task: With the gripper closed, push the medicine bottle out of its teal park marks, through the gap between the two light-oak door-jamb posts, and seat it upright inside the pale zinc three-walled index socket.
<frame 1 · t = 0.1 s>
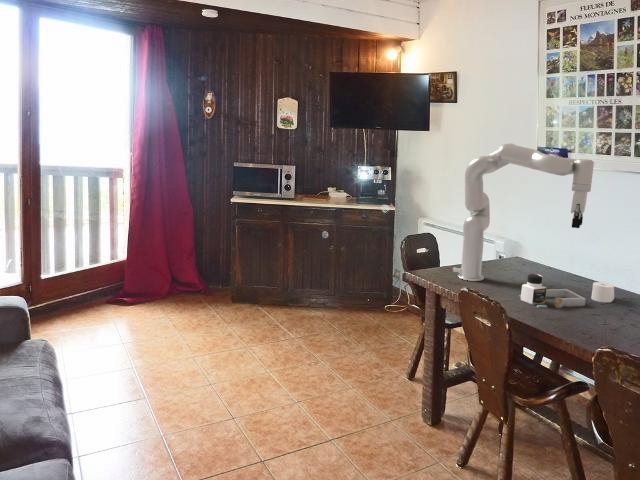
hand: (576, 226, 247), 31 cm above the table, fingers open, 9 cm apart
index socket: (562, 301, 241), on the table
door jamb: (547, 301, 240), on the table
toilet paper: (605, 300, 246), on the table
park marks: (532, 301, 239), on the table
medicine bottle: (532, 302, 239), on the table
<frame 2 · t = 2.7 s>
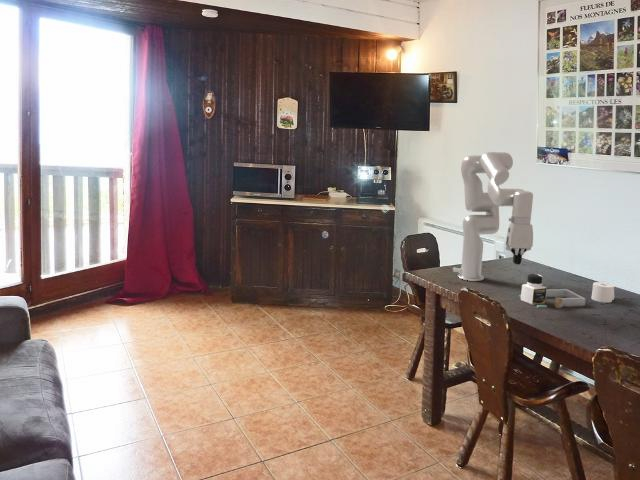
hand: (516, 263, 235), 17 cm above the table, fingers closed
nothing on the table moved.
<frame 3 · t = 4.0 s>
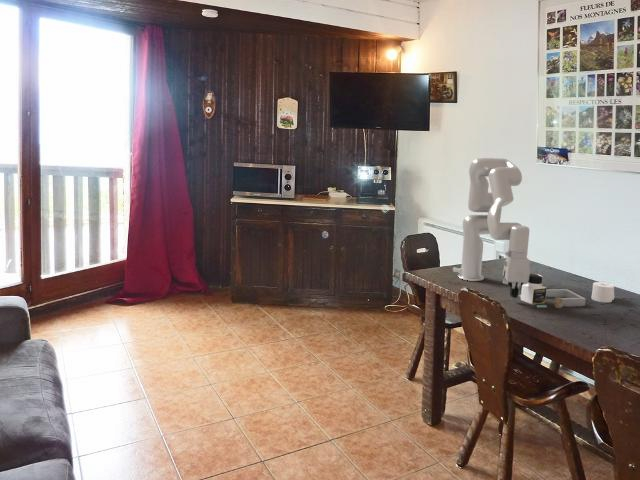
hand: (513, 296, 237), 2 cm above the table, fingers closed
nothing on the table moved.
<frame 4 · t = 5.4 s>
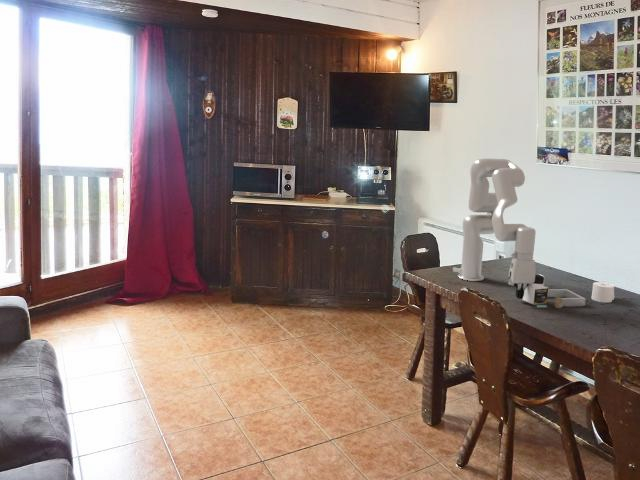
hand: (519, 297, 238), 2 cm above the table, fingers closed
medicine bottle: (534, 302, 239), on the table, touching gripper
everything else where it was.
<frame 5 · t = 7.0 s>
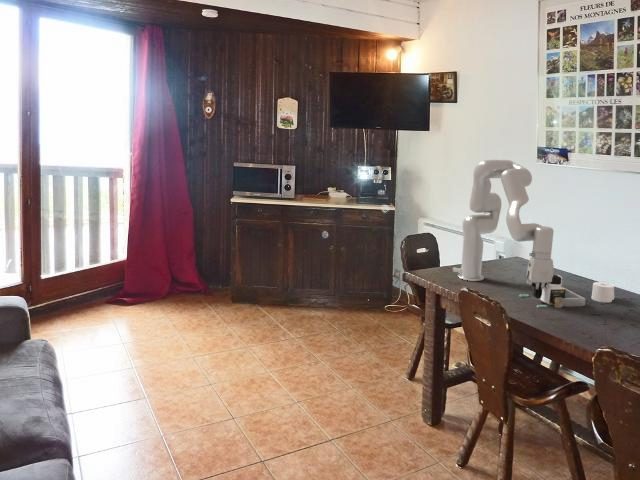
hand: (537, 297, 239), 2 cm above the table, fingers closed
medicine bottle: (551, 302, 239), on the table, touching gripper
everything else where it was.
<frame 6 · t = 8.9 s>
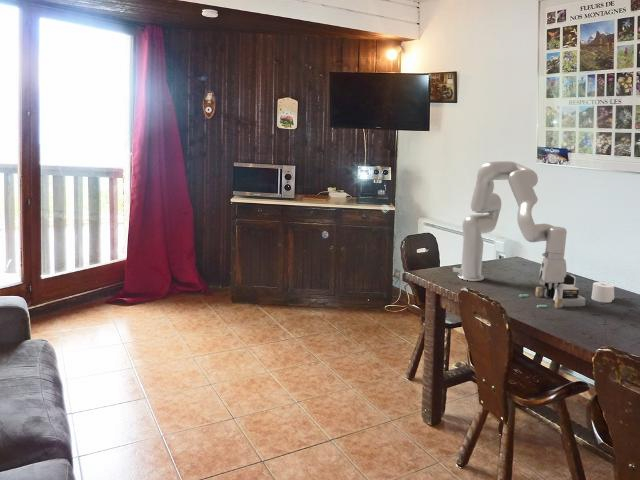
hand: (550, 297, 240), 2 cm above the table, fingers closed
medicine bottle: (564, 302, 240), on the table, touching gripper
everything else where it was.
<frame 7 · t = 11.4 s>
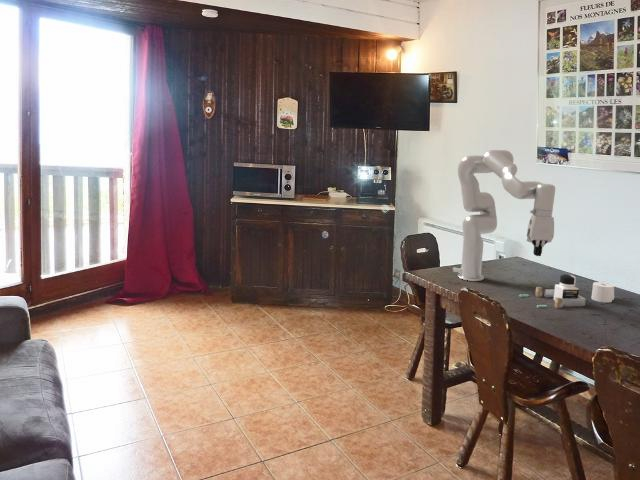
hand: (537, 255, 239), 20 cm above the table, fingers closed
medicine bottle: (565, 302, 240), on the table
everything else where it was.
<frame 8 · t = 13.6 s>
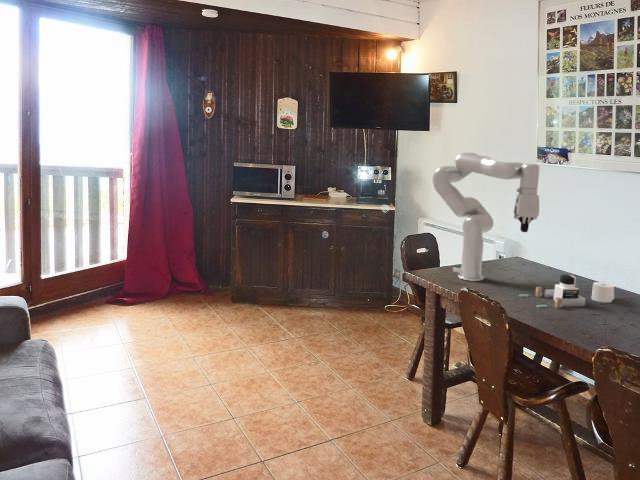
hand: (524, 231, 253), 27 cm above the table, fingers closed
nothing on the table moved.
at the end: medicine bottle 1.4 cm from the index socket (horizontally); medicine bottle tilted 0°; the gripper is holding nothing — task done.
